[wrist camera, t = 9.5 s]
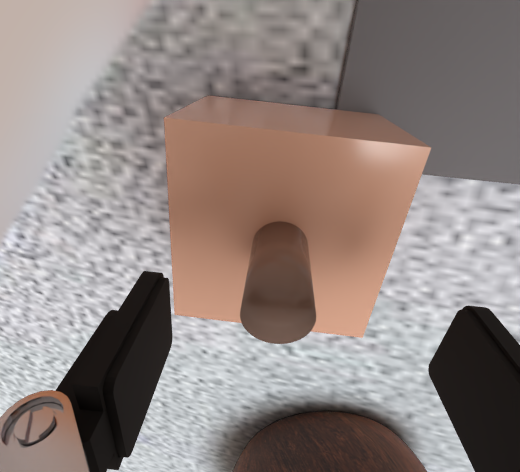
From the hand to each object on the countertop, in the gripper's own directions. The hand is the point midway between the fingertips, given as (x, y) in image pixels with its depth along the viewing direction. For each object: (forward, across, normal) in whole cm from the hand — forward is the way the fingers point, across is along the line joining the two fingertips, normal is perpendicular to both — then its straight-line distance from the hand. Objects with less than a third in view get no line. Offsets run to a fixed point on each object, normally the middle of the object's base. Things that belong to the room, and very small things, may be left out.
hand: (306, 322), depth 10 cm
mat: (+15, -9, -8) cm, 20 cm away
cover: (+15, +1, +1) cm, 15 cm away
